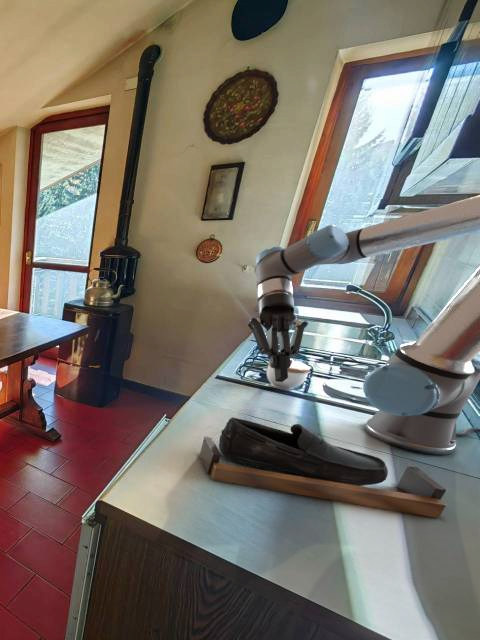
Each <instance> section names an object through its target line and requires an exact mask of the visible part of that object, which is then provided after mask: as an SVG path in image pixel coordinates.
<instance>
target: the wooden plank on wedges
mask: <svg viewBox="0 0 480 640" xmlns="http://www.w3.org/2000/svg"><path fill="white" fill-rule="evenodd" d="M202 441H203V442H202V445H201V447H200V451H199V458H200V460H201V462H202V465H203V468H204V470H205V472H206V474H207V475H210V478H211V480H212V481H217V482H224V483H229V484H236V485H241V486H247V487H253V488H259V489H264V490H271V491H276V492H281V493H282V492H283V493H289V494H295V495H300V496H307V497H312V498H319V499H323V500H329V501H334V502H342V503H345V504H352V505H357V506H358V505H359V506H365V507H371V508H377V509H382V510H387V511H388V510H389V511H392V512H393V511H394V512H400V513H406V514H411V515H412V514H413V515H418V516H422V517H423V516H424V517H430V518H435V519H439V518H440V516H441V515H442V513H443V512H444V509H445V508H446V506H447V504H446V503H444V502H443V501H441V500H442V498H443V497H444V495H445V493H446V491H447V489H446V488H445V487H443V486H442V485H441V484H439V483H438V482H437V481H435V479H433V478H432V477H430V476H429V475H427V474H426V473H425V472H424V471H422V470H421V469H420V468H418V467H417V466H409V465H407V467H406V468H405V470H404V472H403V474H402V476H401V477H400V479H399V481H398V483H397V484H396V487H397V488H398V489H399V490H400V491H401V492H399V491H393V490H387V489H381V488H376V487H370V486H357V485H350V484H344V483H338V482H332V481H325V480H319V479H313V478H306V477H303V476H301V475H293V474H289V473H288V474H287V473H281V472H275V471H270V470H269V471H268V470H262V469H255V468H250V467H243V466H238V465H231V464H226V463H225V464H223V463H220V461H221V457H222V453H221V451H220V449H219V447H218V446H217V445H216V442H215V441H214V439H213V437H210V436H204V437H203V440H202Z"/></svg>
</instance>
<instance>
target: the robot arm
mask: <svg viewBox="0 0 480 640" xmlns="http://www.w3.org/2000/svg"><path fill="white" fill-rule="evenodd" d="M476 233H480V194H479V195H476V196H472V197H469V198H465V199H461V200H458V201H454V202H451V203H448V204H444V205H440V206H436V207H433V208H429V209H426V210H421V211H419V212H415V213H412V214H409V215H404V216H401V217H398V218H394V219H391V220H387V221H382V222H380V223H376V224H373V225H370V226H366V227H362V228H359V229H355V230H351V231H347V232H345V231H344V229H342V228H341V227H338V226H337V225H335V224H329V225H325V226H324V227H322V228H320V229H318V230H315V231H313V232H311V233H310V234H309V235H307V236H305V237H304V238H302V239H300V240H298V241H296V242H295V243H293V244H291V245H289V246H287V247H283V246H273V247H271V248H266V249H263V250H261V252H259V253H258V254H257V256H256V258H255V267H254V272H255V278H256V297H257V312H258V313H257V314H258V315H257V317H252V318H251V319H250V320H249V321H248V323H247V326H248V328H249V329H250V330H251V331H252V334H253V337H254V339H255V342H256V345H257V347H258V350H259V353H260V354H261V355H262V356H263V355H266V357H267V359H269V361H270V366H271V368H274V370H275V381H276V382H283V381H284V380H286V379H287V378H288V371H287V369H288V368H289V367H290V366H291V362H290V359H291V358H294V357H295V356H296V355H297V354H298V353H299V352H300V349H301V346H302V340H303V336H304V333H305V329H306V328H307V326H308V325H309V322H308V321H307V320H304V321H300V320H299V319H298V317H297V315H296V314H295V300H294V290H293V281H292V277H294V276H297V275H299V274H300V273H302V272H305V271H307V270H308V269H311V268H313V267H315V266H321V265H323V266H324V265H345V264H350V263H354V262H356V261H357V262H358V260H363V259H366V258H371V257H375V256H379V255H384V254H388V253H392V252H397V251H402V250H406V249H410V248H415V247H419V246H424V245H429V244H432V243H437V242H441V241H445V240H450V239H454V238H455V239H456V238H460V237H464V236H468V235H472V234H476ZM292 326H293V333H292V337H291V340H290V330H291V327H292ZM264 329H265V331H264ZM479 353H480V266H479V267H478V268H477V269H476V270H475V272H474V273H473V274H472V275H471V276H470V278H469V279H468V280H467V281H466V282H465V283H464V285H463V286H462V287H461V288H460V289H459V290H458V292H456V294H455V295H454V296H453V297H452V298H451V300H449V302H448V303H447V304H446V305H445V307H444V308H443V309H442V310H441V311H440V312H439V314H438V315H436V317H435V318H434V319H433V320H432V322H431V323H430V324H429V325H428V326H427V328H426V329H425V330H424V331H423V332H422V333H421V335H420V336H419V337H418V338H417V339H416V341H413V342H409V343H404V344H401V345H400V346H399V347H398V348H397V349H396V350H395V351H394V352H393V354H392V355H391V356H390V357H389V358H388V359H387V360H386V362H385V363H384V364H383V365H380V366H378V367H376V368H374V369H373V370H371V371H370V372H369V373H368V374H367V375H366V376H365V379H364V380H363V384H362V390H363V394H364V396H365V398H366V400H367V402H369V403H370V405H372V406H373V407H374V408H375V409H377V410H378V411H376V413H375V414H373V415H372V416H371V417H370V418H369V419H368V420H367V421H366V423H365V426H364V429H365V431H366V432H367V433H368V434H369V435H371V436H373V437H374V438H376V439H378V440H380V441H382V442H384V443H387V444H389V445H392V446H394V447H397V448H402V449H405V450H409V451H412V452H417V453H421V454H428V455H435V456H436V455H437V456H440V455H442V456H445V455H450V454H451V453H452V452H453V451H454V449H455V447H456V445H457V438H461V437H466V436H468V435H469V434H470V433H473V432H478V433H479V432H480V429H478V428H479V427H469V428H466V429H464V430H463V431H461V432H457V421H458V418H459V417H460V415H461V413H462V411H463V410H464V408H465V406H466V404H467V403H468V401H469V399H470V397H471V395H472V394H473V392H474V391H475V388H477V385H478V383H479V382H480V357H479V356H477V355H478V354H479Z"/></svg>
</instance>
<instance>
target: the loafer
mask: <svg viewBox="0 0 480 640" xmlns="http://www.w3.org/2000/svg"><path fill="white" fill-rule="evenodd" d="M289 430H290V432H289V431H285V430H282V429H278V428H274V427H270V426H267V425H264V424H261V423H259V422H254V421H251V420H247V419H242V418H237V417H233V416H232V417H230V418H229V419H228V421H226V424H225V426H224V428H223V429H221V431H220V432H221V434H220V435H219V441H218V442H219V443H218V450H219V452H220V453H221V455H223V457H224V458H225V459H227V460H229V461H231V462H234V463H239V464H241V465H244V466H248V467H253V468H258V469H261V470H262V469H265V470H266V469H269V470H276V471H283V472H288V473H291V474H296V475H297V476H300V477H306V478H313V479H319V480H325V481H332V482H338V483H344V484H350V485H357V486H363V487H365V486H371V485H378V484H380V483H383V482H384V481H386V480H387V477H388V473H389V471H388V466H387V464H386V463H385V461H384V460H383V459H382V458H380V457H378V456H374V455H372V454H368V453H364V452H361V451H356V450H352V449H349V448H344V447H341V446H336V445H333V444H331V443H329V442H328V441H327V440H325V439H324V438H323V437H321V436H319V435H318V434H316V433H315V432H313V431H311V430H310V429H308V428H306V427H305V426H304V425H302V424H299V423H294V424H293V425H291V426H290V428H289Z"/></svg>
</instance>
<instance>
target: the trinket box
mask: <svg viewBox="0 0 480 640" xmlns="http://www.w3.org/2000/svg"><path fill="white" fill-rule="evenodd" d="M290 362H291V366H290V367H289V368H288V369H287V371H288V378H287V379H286V380H284V381H283V382H276V381H275V370H274V368H271V366H270V360H269V361H268V363H267V364H268V365H267V368H266V379H267V380H268V383H270V386H272V387H274V388H276V389H279V390H285V391H293V390H294V389H295V388H298V387H300V386H301V385H302V384H304V382H305V381H306V379H307V378H308V375H309V373H310V371H311V367H310V366H309V365H307V364H305V363H303V362H299V361H295V360H294V359H292V358H290Z"/></svg>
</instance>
